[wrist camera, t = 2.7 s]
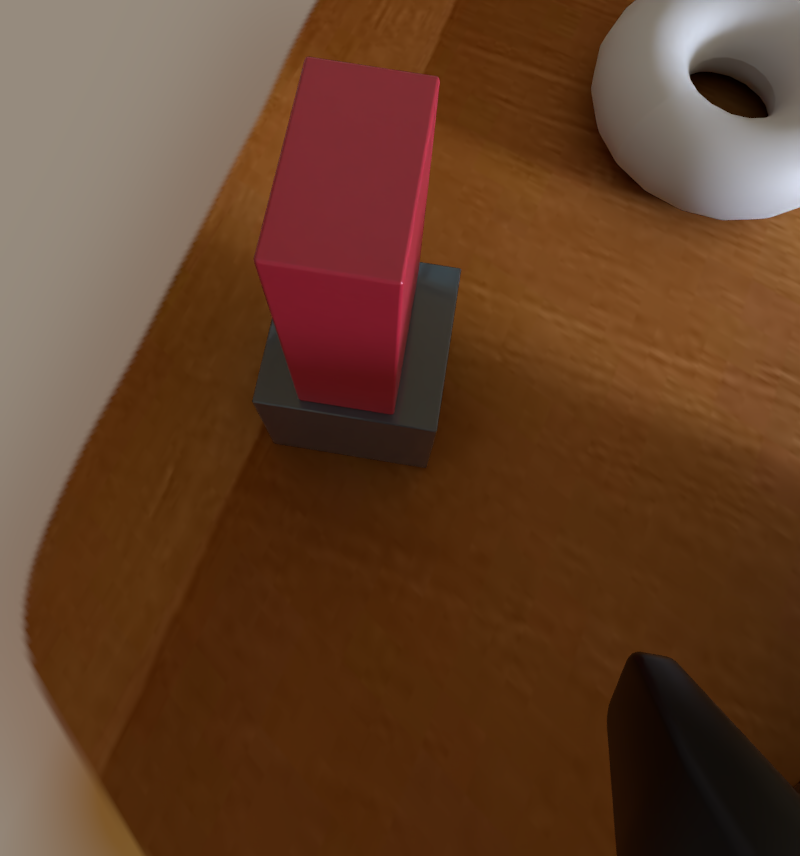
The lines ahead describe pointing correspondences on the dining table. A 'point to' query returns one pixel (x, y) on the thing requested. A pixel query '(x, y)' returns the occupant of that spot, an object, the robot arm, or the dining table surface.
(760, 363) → the dining table surface
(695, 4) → the donut
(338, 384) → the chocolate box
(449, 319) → the stand
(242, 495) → the dining table surface
